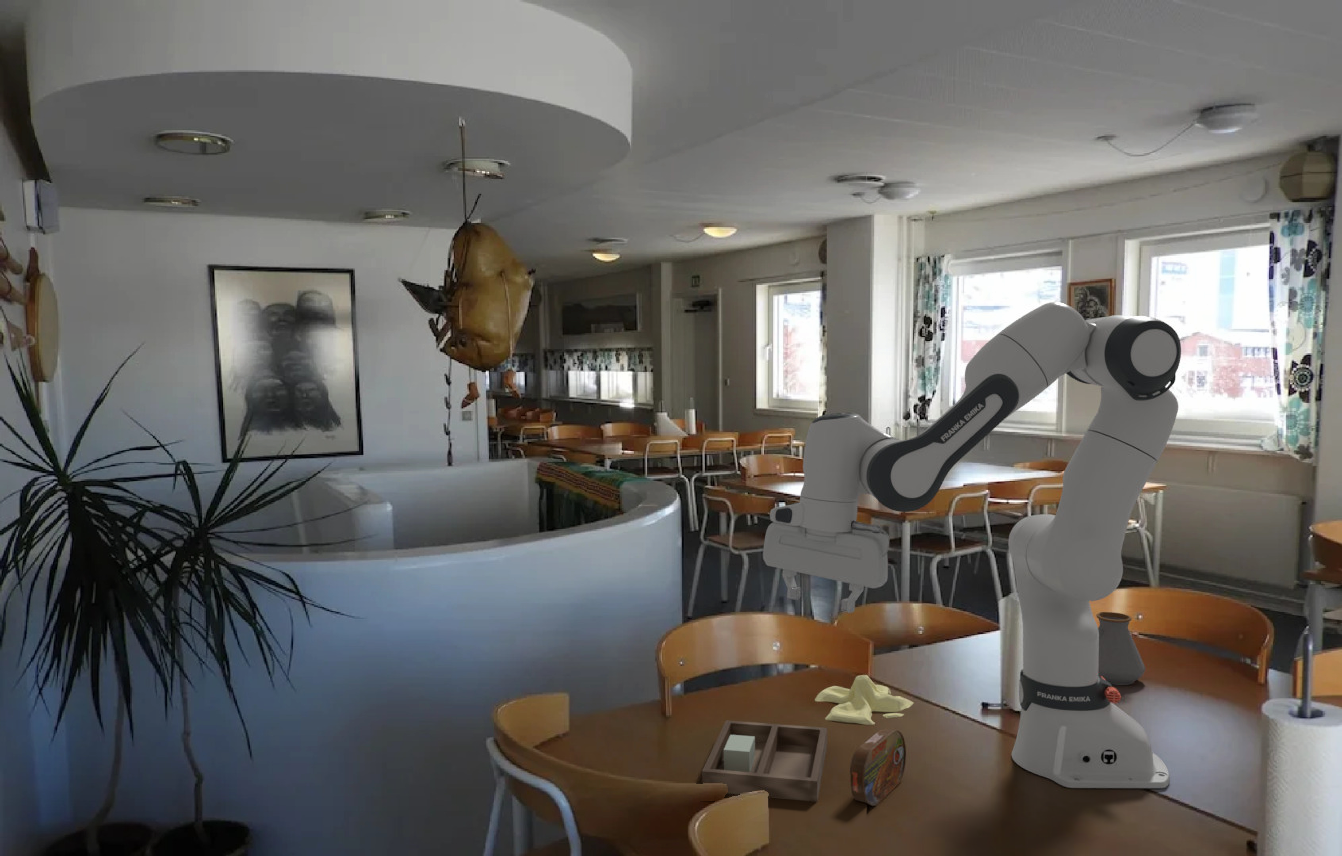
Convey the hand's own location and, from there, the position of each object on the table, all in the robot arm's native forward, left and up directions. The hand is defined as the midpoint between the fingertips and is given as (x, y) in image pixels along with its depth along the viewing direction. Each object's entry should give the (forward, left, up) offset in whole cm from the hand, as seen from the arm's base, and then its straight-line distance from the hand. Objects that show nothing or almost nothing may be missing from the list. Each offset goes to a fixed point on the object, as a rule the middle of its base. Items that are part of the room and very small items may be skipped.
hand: (820, 604), depth 141 cm
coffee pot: (-50, -53, -27) cm, 77 cm away
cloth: (-7, -32, -28) cm, 43 cm away
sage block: (+13, +1, -26) cm, 29 cm away
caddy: (+8, +1, -27) cm, 28 cm away
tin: (-9, +4, -27) cm, 29 cm away
